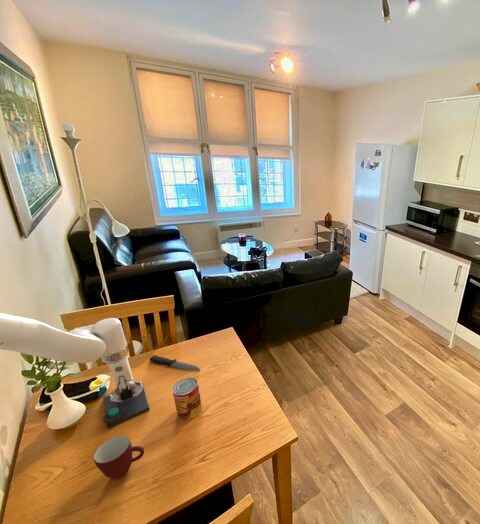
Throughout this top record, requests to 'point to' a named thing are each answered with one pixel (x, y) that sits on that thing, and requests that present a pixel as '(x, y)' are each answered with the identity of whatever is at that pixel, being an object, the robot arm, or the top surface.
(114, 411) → the tare button
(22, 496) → the top surface
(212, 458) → the top surface
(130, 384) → the egg
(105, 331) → the robot arm
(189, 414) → the canned food
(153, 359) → the knife
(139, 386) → the shallow metal dish
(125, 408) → the scale
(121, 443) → the mug
